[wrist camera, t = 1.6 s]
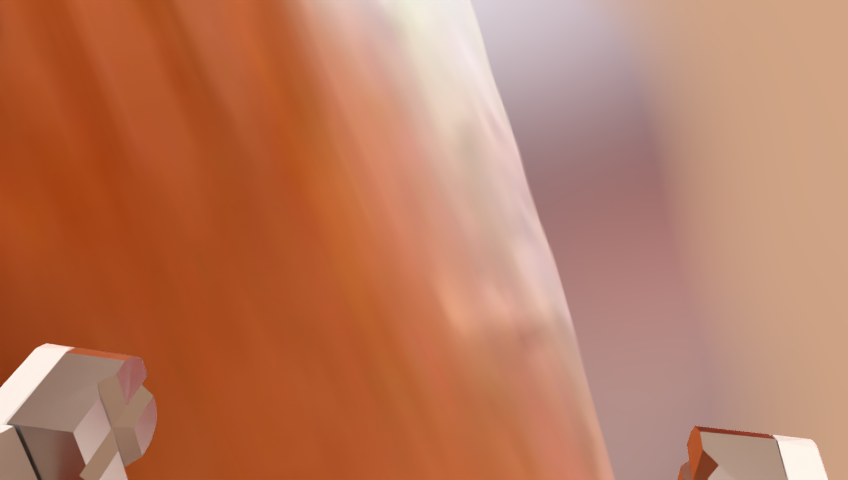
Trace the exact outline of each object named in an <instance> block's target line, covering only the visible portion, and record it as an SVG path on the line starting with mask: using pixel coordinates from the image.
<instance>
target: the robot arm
mask: <svg viewBox="0 0 848 480" xmlns="http://www.w3.org/2000/svg"><path fill="white" fill-rule="evenodd" d="M146 376H147V372H146V369H145V366H144V363H143V361H142V359H141V358H138V357H135V356H130V355H124V354H117V353H111V352H104V351H97V350H91V349H84V348H78V347H76V348H74V347H68V346H61V345H54V344H48V343H46V344H44V345H42V346H40V347H37V348H36V349H35V350H34V351H33V352H32V353H31V354H30V355H29V356H28V357H27V359H26V360H25V361H24V362H23V363H22V364H21V365H20V366H19V368H18V369H17V370H16V371H15V372H14V373H13V374H12V375H11V376H10V378H9V379H8V380H7V381H6V382H5V383H4V384H3V385H2V387H1V388H0V480H128V478H127V472H126V466H127V465H129V464H131V463H132V462H134V461H135V460H137V459H139V458H140V457H142V456H143V454H144V452H145V451H146V449H147V447H148V445H149V444H150V442H151V440H152V436H153V433H154V429H155V426H156V422H157V416H156V404H155V400H154V396H153V395H152V394H151V393H150V392H149V391H148V390H147V389H146V388H145V387H144V386H143V385H142V382H143V381H144V379H145V378H146ZM687 447H688V454H689V461H688V462H687V463H685V464H684V465H682V466H681V468H680V473H679V476H678V480H828V477H827V474H826V471H825V468H824V465H823V462H822V459H821V456H820V453H819V450H818V447H817V445H816V444H815V443H814V442H813V441H812V440H811V439H803V438H795V437H787V436H778V435H771V436H770V435H768V434H762V433H752V432H744V431H736V430H735V431H734V430H726V429H718V428H709V427H701V426H695V427H694V428H693V430H692V431H691V434H690V437H689V440H688V444H687Z"/></svg>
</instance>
